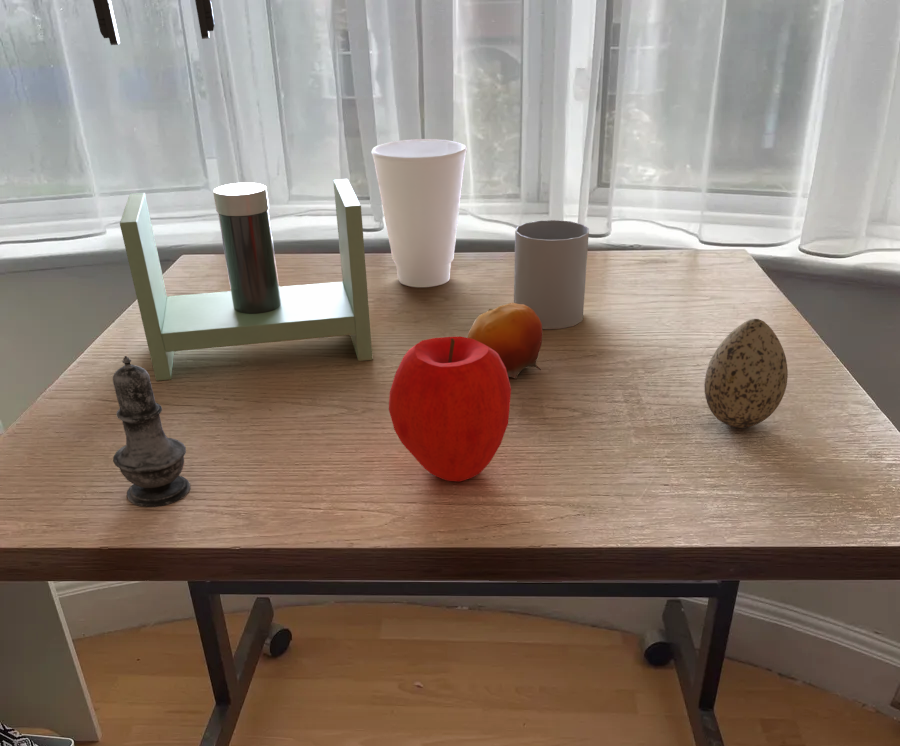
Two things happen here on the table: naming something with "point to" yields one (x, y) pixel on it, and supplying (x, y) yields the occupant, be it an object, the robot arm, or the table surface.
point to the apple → (451, 405)
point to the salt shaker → (146, 443)
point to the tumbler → (248, 246)
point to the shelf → (213, 313)
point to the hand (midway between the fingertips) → (160, 41)
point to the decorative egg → (746, 375)
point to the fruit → (510, 335)
